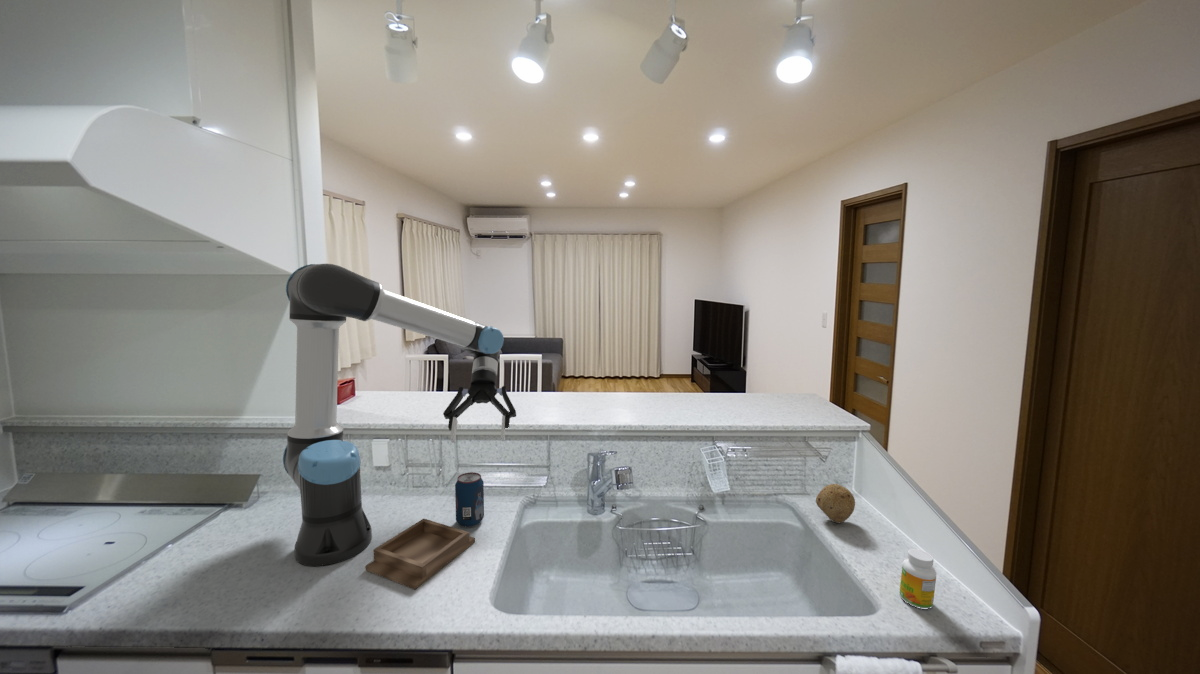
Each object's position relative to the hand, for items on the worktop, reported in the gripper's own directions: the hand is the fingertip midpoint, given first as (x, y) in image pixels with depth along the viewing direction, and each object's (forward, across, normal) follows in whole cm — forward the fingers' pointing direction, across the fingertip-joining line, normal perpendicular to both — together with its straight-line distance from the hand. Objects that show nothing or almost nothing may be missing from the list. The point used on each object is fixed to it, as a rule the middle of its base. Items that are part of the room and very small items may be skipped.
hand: (477, 439), depth 120 cm
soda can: (+20, +1, -5) cm, 21 cm away
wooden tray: (+30, +8, +5) cm, 31 cm away
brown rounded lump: (+26, -94, 0) cm, 98 cm away
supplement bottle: (+47, -92, +20) cm, 105 cm away
